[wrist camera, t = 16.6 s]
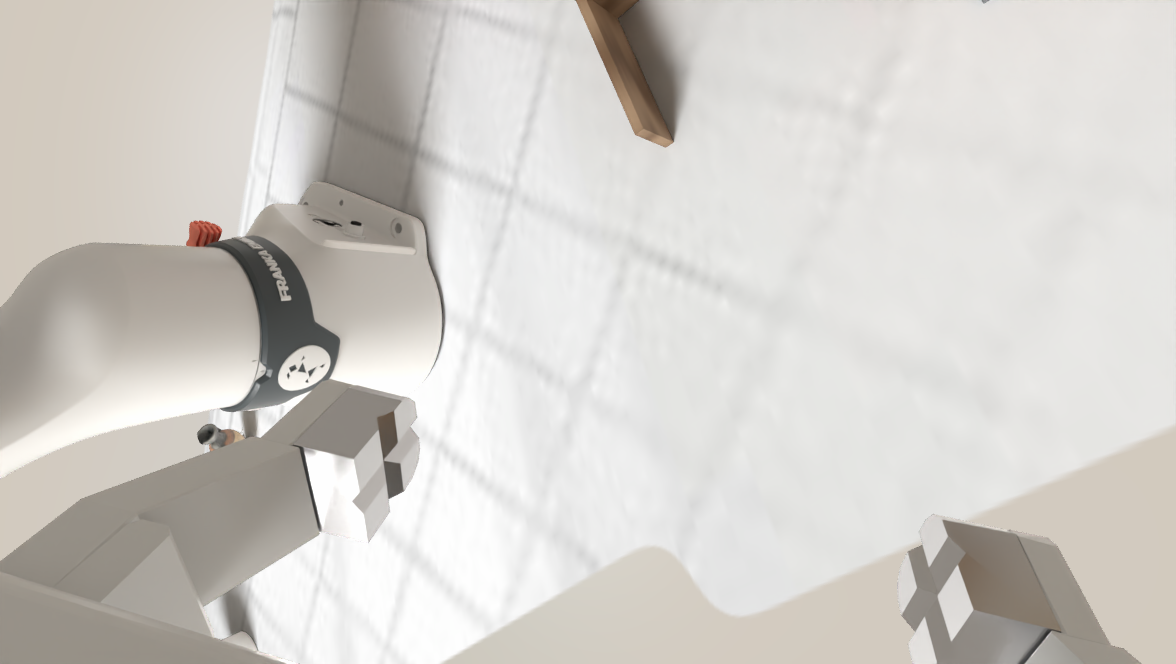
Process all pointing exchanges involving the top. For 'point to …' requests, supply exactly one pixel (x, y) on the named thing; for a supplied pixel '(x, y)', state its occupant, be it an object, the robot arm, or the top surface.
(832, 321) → the top surface
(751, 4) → the top surface
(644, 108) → the wooden u-shaped open frame
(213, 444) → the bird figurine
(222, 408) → the robot arm
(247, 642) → the white cup
